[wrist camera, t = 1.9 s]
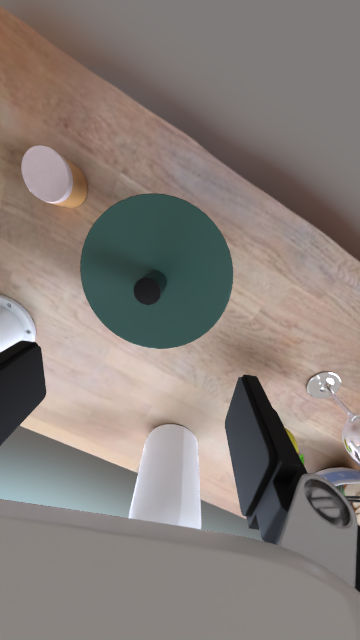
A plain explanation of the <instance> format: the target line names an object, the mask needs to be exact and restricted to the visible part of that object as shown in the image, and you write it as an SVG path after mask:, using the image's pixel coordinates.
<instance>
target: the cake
mask: <svg viewBox="0 0 360 640" xmlns="http://www.w3.org/2000/svg"><path fill="white" fill-rule="evenodd" d="M21 170H22V176H23V179H24V182H25V184H26V186H27V187H28V189H29V190H30V191H31V193H32V194H33V195H35V196H36V197H37V198H39V199H40V200H42V201H45V202H49V203H52V204H56V205H59V206H63V207H67V208H76V207H78V206H80V205H81V204H82V203H83V202H84V200H85V199H86V196H87V189H88V188H87V182H86V178H85V176H84V174H83V172H82V171H81V170H80V169H79V167H77V166H76V165H75V164H74V163H72V162H71V161H69V160H68V159H66V158H65V157H63V156H62V155H60V154H59V153H57V152H56V151H54V150H53V149H51V148H49V147H47V146H43V145H37V146H33V147H31V148H30V149H28V150H27V151H26V153H25V154H24V156H23V159H22V164H21Z"/></svg>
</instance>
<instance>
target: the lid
mask: <svg viewBox="0 0 360 640" xmlns="http://www.w3.org/2000/svg"><path fill="white" fill-rule="evenodd" d="M80 271H81V280H82V285H83V289H84V292H85V295H86V298H87V300H88V302H89V304H90V306H91V308H92V310H93V311H94V313H95V314H96V316H97V317H98V318H99V319H100V320H101V322H102V323H103V324H104V325H105V326H106V327H107V328H108V329H109V330H111V331H112V332H113V333H115V334H116V335H117V336H119V337H121V338H122V339H124V340H126V341H128V342H131V343H133V344H136V345H139V346H143V347H148V348H157V349H164V348H173V347H178V346H182V345H185V344H187V343H190V342H192V341H194V340H196V339H198V338H199V337H201V336H202V335H204V334H205V333H206V332H208V331H209V330H210V329H211V328H212V327H213V326H214V325H215V323H216V322H217V321H218V320H219V318H220V317H221V315H222V314H223V312H224V310H225V308H226V306H227V304H228V301H229V298H230V294H231V290H232V284H233V267H232V260H231V255H230V251H229V249H228V246H227V243H226V241H225V239H224V237H223V235H222V234H221V232H220V230H219V229H218V228H217V226H216V225H215V224H214V222H213V221H212V220H211V219H210V218H209V217H208V216H207V215H206V214H205V213H204V212H202V211H201V210H200V209H198V208H197V207H196V206H194V205H192V204H190V203H189V202H187V201H185V200H182V199H180V198H177V197H174V196H169V195H165V194H141V195H137V196H133V197H129V198H127V199H124V200H122V201H120V202H118V203H116V204H115V205H113V206H111V207H110V208H109V209H108V210H106V211H105V212H104V213H103V214H102V215H101V216H100V217H99V218H98V219H97V221H96V222H95V223H94V225H93V226H92V228H91V229H90V231H89V233H88V235H87V238H86V240H85V243H84V246H83V250H82V255H81V269H80Z"/></svg>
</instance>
